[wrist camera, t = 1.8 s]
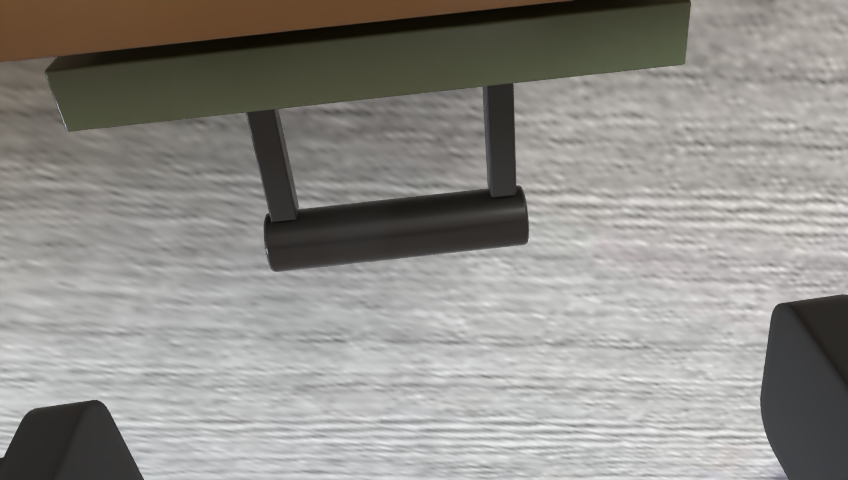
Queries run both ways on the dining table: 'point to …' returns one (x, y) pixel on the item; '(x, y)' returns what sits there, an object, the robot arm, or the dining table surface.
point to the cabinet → (191, 20)
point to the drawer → (365, 79)
